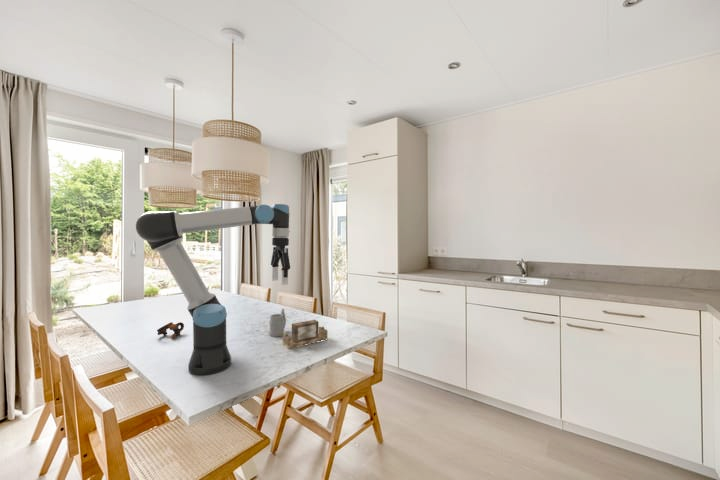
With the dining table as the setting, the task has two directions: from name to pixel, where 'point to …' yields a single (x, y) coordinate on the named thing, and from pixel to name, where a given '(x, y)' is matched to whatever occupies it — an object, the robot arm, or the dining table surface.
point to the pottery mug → (171, 327)
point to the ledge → (290, 344)
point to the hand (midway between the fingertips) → (279, 282)
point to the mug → (277, 324)
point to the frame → (304, 331)
